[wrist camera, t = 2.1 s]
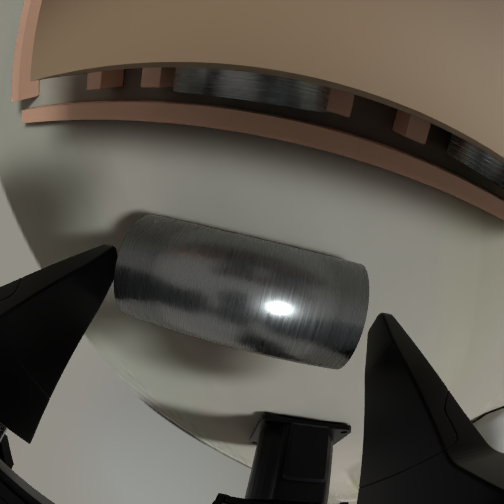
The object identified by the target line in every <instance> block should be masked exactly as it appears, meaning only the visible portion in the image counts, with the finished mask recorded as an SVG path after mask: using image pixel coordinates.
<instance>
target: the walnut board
mask: <svg viewBox="0 0 504 504" xmlns="http://www.w3.org/2000/svg"><path fill="white" fill-rule="evenodd" d="M158 67H186V68H209V69H223V70H234V71H243V72H252V73H259V74H266V75H272V76H278V77H284V78H289V79H294V80H299V81H304V82H309V83H313V84H317V85H322V86H326V87H329V88H333V89H337V90H341V91H344V92H348V93H351V94H355V95H358V96H361V97H364V98H367V99H370V100H373V101H376V102H379V103H382V104H385V105H388V106H390V107H393V108H396V109H398V110H401V111H403V112H406V113H408V114H411V115H413V116H416V117H418V118H420V119H423V120H425V121H427V122H429V123H431V124H434V125H436V126H438V127H440V128H442V129H444V130H446V131H448V132H450V133H452V134H454V135H456V136H458V137H460V138H462V139H464V140H465V141H467V142H469V143H471V144H473V145H474V146H476V147H478V148H480V149H481V150H483V151H485V152H486V153H488V154H490V155H491V156H493V157H494V158H496V159H498V160H499V161H501V162H502V163H504V0H42V3H41V7H40V11H39V16H38V21H37V26H36V32H35V38H34V45H33V53H32V62H31V74H30V81H36V80H41V79H47V78H53V77H61V76H68V75H77V74H87V73H94V72H102V71H111V70H121V69H134V68H158Z"/></svg>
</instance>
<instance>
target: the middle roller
mask: <svg viewBox="0 0 504 504" xmlns="http://www.w3.org/2000/svg"><path fill="white" fill-rule="evenodd" d="M173 91H175V92H181V93H190V94H199V95H208V96H217V97H225V98H233V99H241V100H248V101H255V102H262V103H268V104H275V105H281V106H287V107H293V108H298V109H304V110H310V111H316V112H326V109H327V105H328V100H329V96H330V91H331V88H329V87H326V86H322V85H317V84H313V83H309V82H304V81H299V80H294V79H289V78H284V77H278V76H272V75H266V74H259V73H252V72H243V71H234V70H223V69H209V68H186V67H176V71H175V79H174V87H173Z"/></svg>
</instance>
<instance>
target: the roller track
mask: <svg viewBox="0 0 504 504" xmlns="http://www.w3.org/2000/svg"><path fill="white" fill-rule="evenodd" d="M41 3H42V0H25V1H24V5H23V9H22V13H21V18H20V23H19V28H18V33H17V40H16V46H15V54H14V63H13V75H12V99H11V103H12V102H16V101H20V100H24V99H28V98H31V97H36V96H39V80H36V81H30V74H31V62H32V53H33V45H34V38H35V32H36V26H37V21H38V16H39V11H40V7H41ZM175 71H176V67H158V68H142V77H141V87H174V79H175ZM123 78H124V69H121V70H111V71H102V72H94V73H88V77H87V90H94V89H104V88H112V87H122V86H123ZM354 97H355V94H351V93H348V92H344V91H341V90H337V89H333V88H331V91H330V96H329V100H328V105H327V109H326V111H328V112H332V113H336V114H339V115H343V116H346V117H350V114H351V110H352V106H353V101H354ZM59 120H133V121H150V122H163V123H174V124H184V125H193V126H201V127H209V128H216V129H223V130H230V131H236V132H242V133H247V134H253V135H258V136H263V137H269V138H273V139H278V140H283V141H287V142H292V143H296V144H300V145H305V146H309V147H313V148H317V149H321V150H324V151H328V152H332V153H335V154H339V155H342V156H346V157H349V158H353V159H356V160H359V161H362V162H366V163H369V164H372V165H375V166H378V167H381V168H384V169H387V170H390V171H393V172H395V173H398V174H401V175H404V176H406V177H409V178H412V179H414V180H417V181H419V182H422V183H425V184H427V185H430V186H432V187H434V188H437V189H439V190H442V191H444V192H446V193H448V194H451V195H453V196H455V197H457V198H460V199H462V200H464V201H466V202H468V203H470V204H472V205H475V206H477V207H479V208H481V209H483V210H485V211H487V212H489V213H491V214H492V215H494V216H496V217H498V218H500V219H502V220H504V200H503V199H501V198H500V197H498V196H496V195H495V194H493V193H491V192H489V191H488V190H486V189H484V188H482V187H480V186H478V185H476V184H475V183H473V182H471V181H469V180H467V179H465V178H463V177H461V176H459V175H457V174H455V173H452V172H450V171H448V170H446V169H444V168H442V167H439V166H437V165H435V164H433V163H430V162H428V161H426V160H423V159H421V158H419V157H416V156H414V155H411V154H409V153H406V152H403V151H401V150H398V149H395V148H393V147H390V146H387V145H384V144H382V143H379V142H376V141H373V140H370V139H367V138H364V137H360V136H357V135H354V134H351V133H347V132H344V131H340V130H337V129H333V128H330V127H326V126H322V125H318V124H314V123H310V122H306V121H302V120H297V119H293V118H288V117H284V116H279V115H274V114H268V113H263V112H257V111H251V110H245V109H238V108H231V107H224V106H216V105H207V104H197V103H185V102H170V101H146V100H112V101H88V102H74V103H63V104H54V105H46V106H39V107H32V108H28V109H25V110H22V123H31V122H43V121H59ZM430 125H431V123H429V122H427V121H425V120H423V119H420V118H418V117H416V116H413V115H411V114H408V113H406V112H403V111H401V110H397V113H396V117H395V121H394V125H393V129H392V130H393V131H395V132H397V133H399V134H401V135H403V136H405V137H407V138H410V139H412V140H414V141H417V142H419V143H422V144H424V145H425V143H426V140H427V136H428V133H429V129H430Z"/></svg>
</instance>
